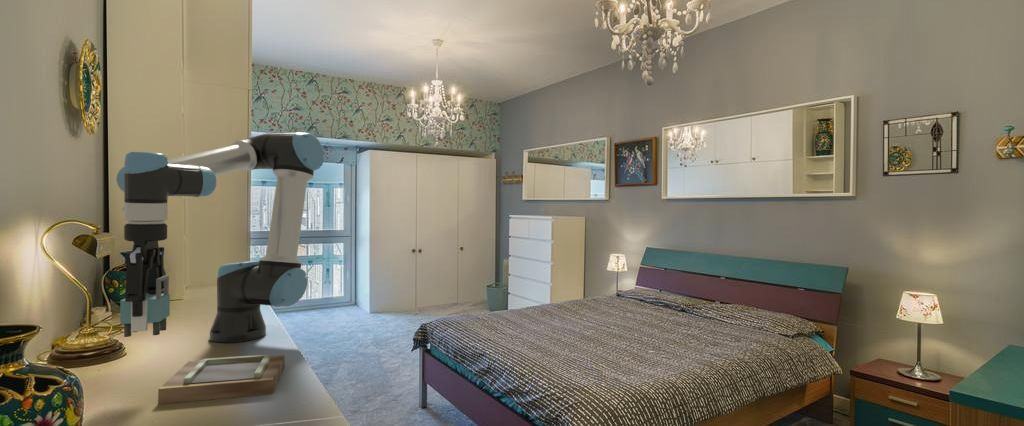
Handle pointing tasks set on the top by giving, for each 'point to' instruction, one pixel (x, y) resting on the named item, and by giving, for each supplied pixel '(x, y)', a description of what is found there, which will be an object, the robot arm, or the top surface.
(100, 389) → the top surface
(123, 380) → the top surface
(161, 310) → the light blue chair
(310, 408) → the top surface
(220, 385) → the dock
